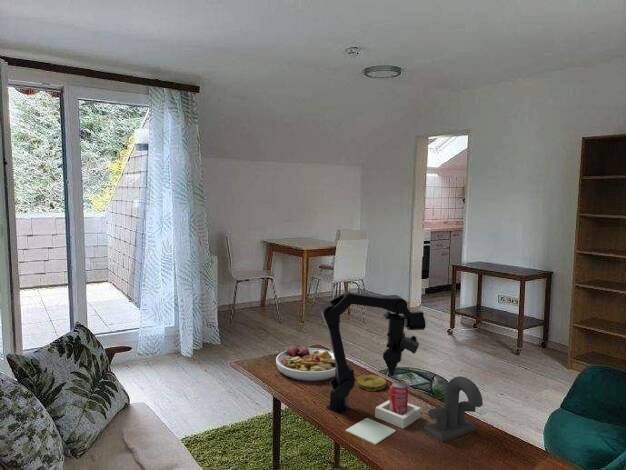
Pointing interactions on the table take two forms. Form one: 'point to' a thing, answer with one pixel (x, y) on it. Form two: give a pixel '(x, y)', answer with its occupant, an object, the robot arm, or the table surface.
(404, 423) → the collar
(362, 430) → the mat
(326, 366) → the bowl
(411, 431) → the table surface
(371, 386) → the gold flat disc
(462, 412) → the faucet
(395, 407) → the beverage can
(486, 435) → the table surface
